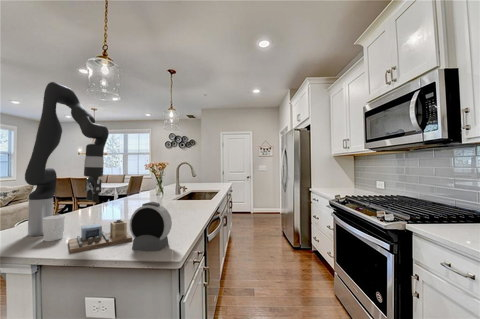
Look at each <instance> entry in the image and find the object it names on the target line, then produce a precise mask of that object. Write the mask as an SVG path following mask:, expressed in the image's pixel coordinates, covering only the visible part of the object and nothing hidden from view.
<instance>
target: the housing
mask: <svg viewBox="0 0 480 319" xmlns="http://www.w3.org/2000/svg"><path fill="white" fill-rule="evenodd" d="M80 230H81V234H80V235H81V236H80V238H82V241H85V237H90V236H96V235H98V236H99V237H100V238H102V232H103V226H102V224H101V223H95V224H94V223H93V224H88V225H82V226H81V229H80Z"/></svg>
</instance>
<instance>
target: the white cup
mask: <svg viewBox="0 0 480 319" xmlns="http://www.w3.org/2000/svg"><path fill="white" fill-rule="evenodd" d="M65 216H66V215H64V214H61V215H60V214H59V215H57V214H56V215H53V216H49V217H44V218H43V235H42V236H43V241H44V242H53V241H58V240H62V239H63V238H64V231H65V219H66V218H65Z"/></svg>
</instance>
